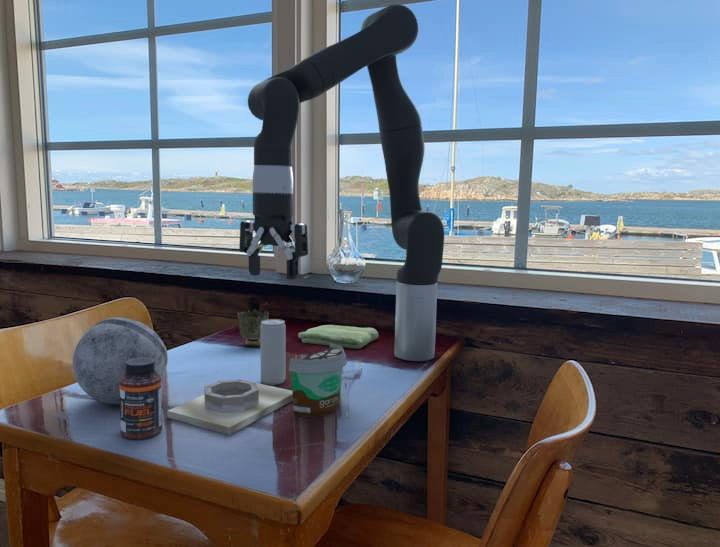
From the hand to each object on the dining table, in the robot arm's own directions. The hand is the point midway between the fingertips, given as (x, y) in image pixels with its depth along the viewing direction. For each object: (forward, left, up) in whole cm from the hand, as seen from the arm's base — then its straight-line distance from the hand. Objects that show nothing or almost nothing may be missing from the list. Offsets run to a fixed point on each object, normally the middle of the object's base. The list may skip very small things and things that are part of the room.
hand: (272, 277), depth 106 cm
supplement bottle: (+29, -3, -21) cm, 36 cm away
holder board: (+14, +3, -21) cm, 25 cm away
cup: (-19, -20, -21) cm, 35 cm away
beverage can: (0, 0, -21) cm, 21 cm away
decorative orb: (+22, -16, -21) cm, 34 cm away
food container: (+7, +16, -21) cm, 27 cm away
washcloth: (-34, -5, -21) cm, 41 cm away
